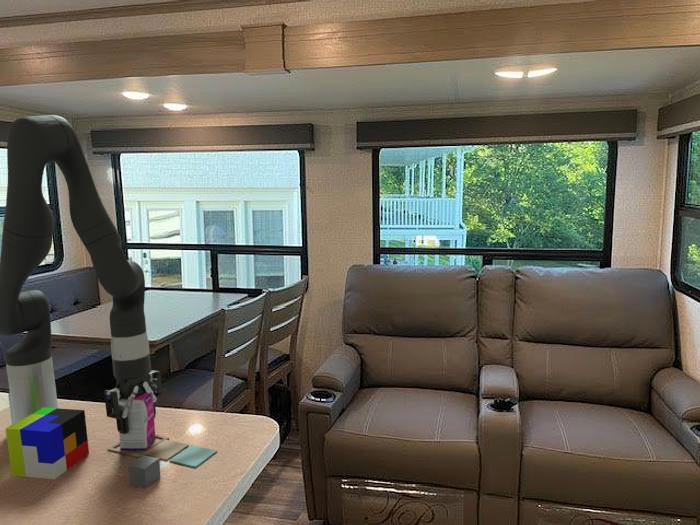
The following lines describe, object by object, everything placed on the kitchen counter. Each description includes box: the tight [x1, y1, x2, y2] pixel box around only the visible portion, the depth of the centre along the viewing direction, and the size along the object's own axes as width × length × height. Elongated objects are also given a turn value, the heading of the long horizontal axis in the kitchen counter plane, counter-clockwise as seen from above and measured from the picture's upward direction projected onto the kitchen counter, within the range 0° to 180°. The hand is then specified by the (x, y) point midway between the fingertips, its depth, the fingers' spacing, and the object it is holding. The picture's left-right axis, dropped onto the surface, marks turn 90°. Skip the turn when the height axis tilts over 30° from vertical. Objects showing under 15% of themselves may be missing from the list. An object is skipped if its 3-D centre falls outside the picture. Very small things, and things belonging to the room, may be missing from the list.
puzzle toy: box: [5, 407, 90, 480], centre depth 109 cm, size 10×10×10 cm
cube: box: [127, 455, 161, 489], centre depth 103 cm, size 4×4×4 cm
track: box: [107, 433, 218, 469], centre depth 115 cm, size 23×9×1 cm, turn 66°
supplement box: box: [118, 392, 156, 452], centre depth 117 cm, size 6×6×12 cm
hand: (137, 425), depth 117 cm, fingers closed on supplement box, 7 cm apart
